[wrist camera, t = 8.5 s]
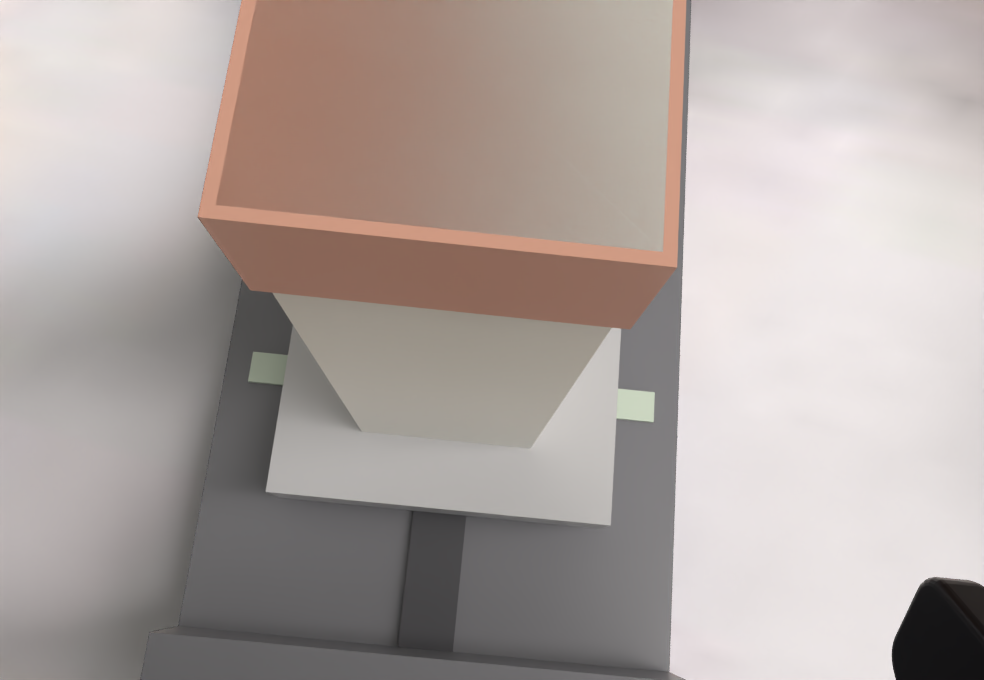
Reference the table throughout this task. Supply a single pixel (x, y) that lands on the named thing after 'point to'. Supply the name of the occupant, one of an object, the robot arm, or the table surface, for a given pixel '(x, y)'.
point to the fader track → (429, 547)
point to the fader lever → (451, 238)
